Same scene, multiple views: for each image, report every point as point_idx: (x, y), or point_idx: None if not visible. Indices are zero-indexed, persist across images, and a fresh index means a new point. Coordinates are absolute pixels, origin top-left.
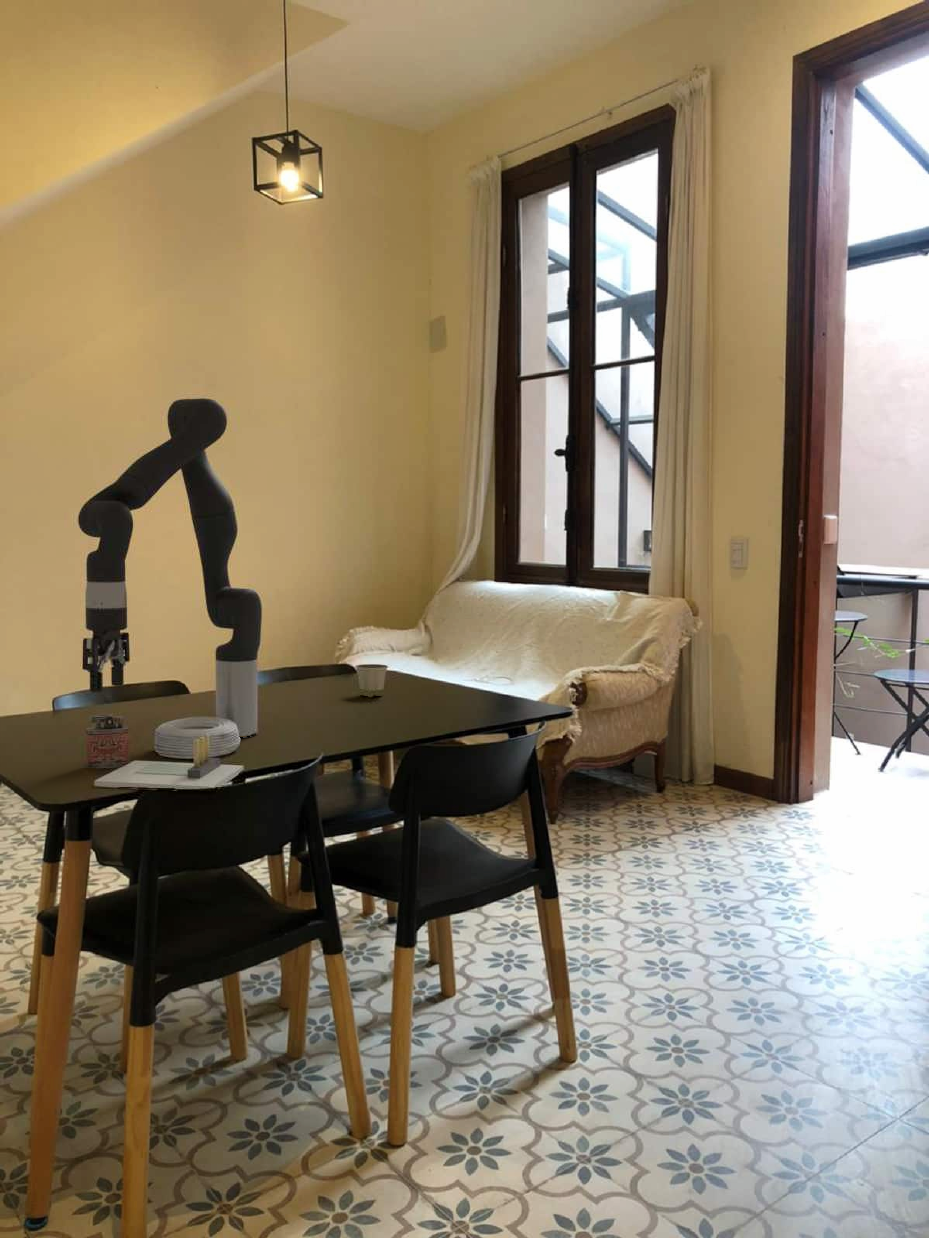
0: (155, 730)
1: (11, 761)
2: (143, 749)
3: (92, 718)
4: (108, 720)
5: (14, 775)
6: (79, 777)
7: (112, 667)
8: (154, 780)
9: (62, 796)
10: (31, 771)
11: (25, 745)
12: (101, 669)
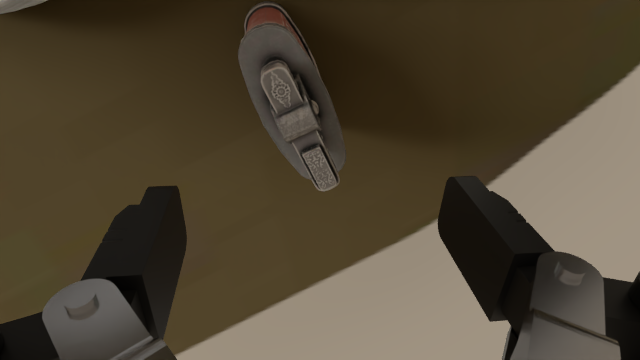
0: (12, 1)
1: (294, 293)
2: (32, 61)
3: (337, 173)
4: (316, 113)
5: (416, 226)
6: (432, 79)
7: (159, 335)
8: None
9: (627, 21)
10: (378, 214)
11: None
12: (577, 264)
